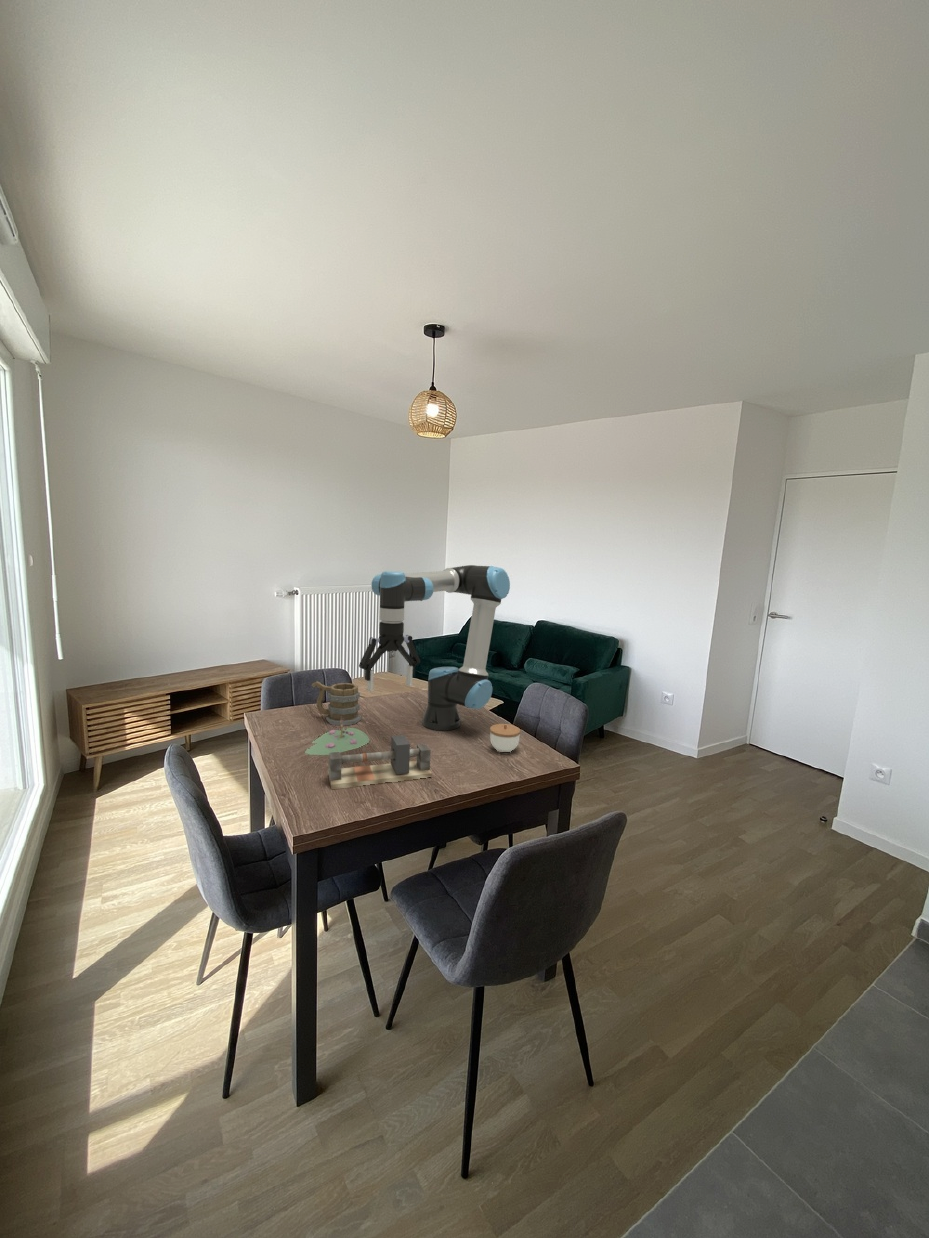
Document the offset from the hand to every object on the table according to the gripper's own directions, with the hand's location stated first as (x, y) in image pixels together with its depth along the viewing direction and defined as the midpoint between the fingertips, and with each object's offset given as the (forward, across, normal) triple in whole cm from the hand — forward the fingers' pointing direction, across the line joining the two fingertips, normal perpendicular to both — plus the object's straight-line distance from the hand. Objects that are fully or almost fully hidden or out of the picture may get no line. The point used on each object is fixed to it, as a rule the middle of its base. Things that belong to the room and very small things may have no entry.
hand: (389, 687), depth 160 cm
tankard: (+26, -1, -49) cm, 55 cm away
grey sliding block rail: (+26, +6, +6) cm, 27 cm away
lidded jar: (+26, -41, +9) cm, 49 cm away
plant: (+26, +8, -25) cm, 37 cm away
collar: (+24, 0, +8) cm, 25 cm away
